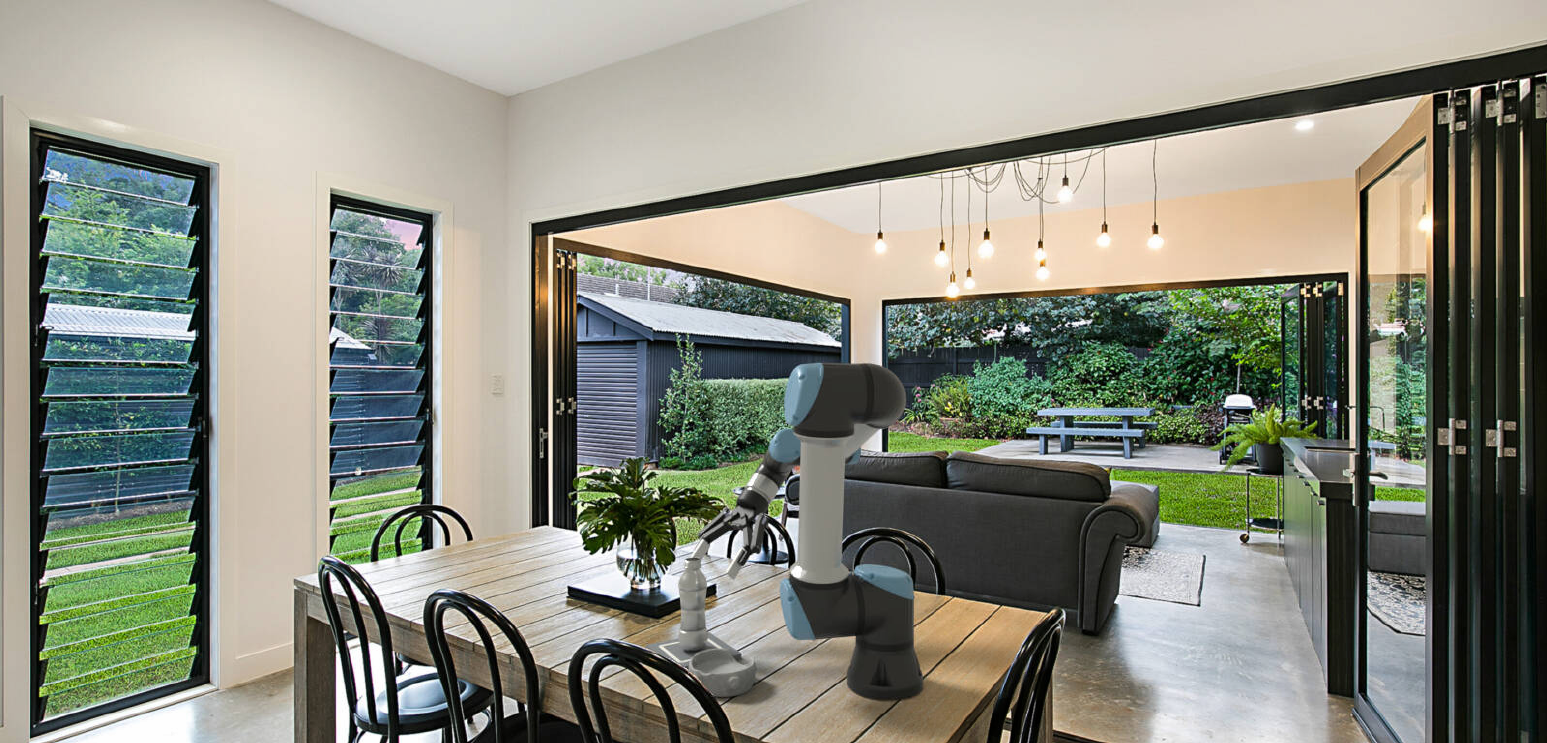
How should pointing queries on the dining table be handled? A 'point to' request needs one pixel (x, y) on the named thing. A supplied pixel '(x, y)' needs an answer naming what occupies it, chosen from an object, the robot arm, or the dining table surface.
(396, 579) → the dining table surface
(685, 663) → the slate board
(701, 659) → the dish
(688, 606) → the plastic bottle
